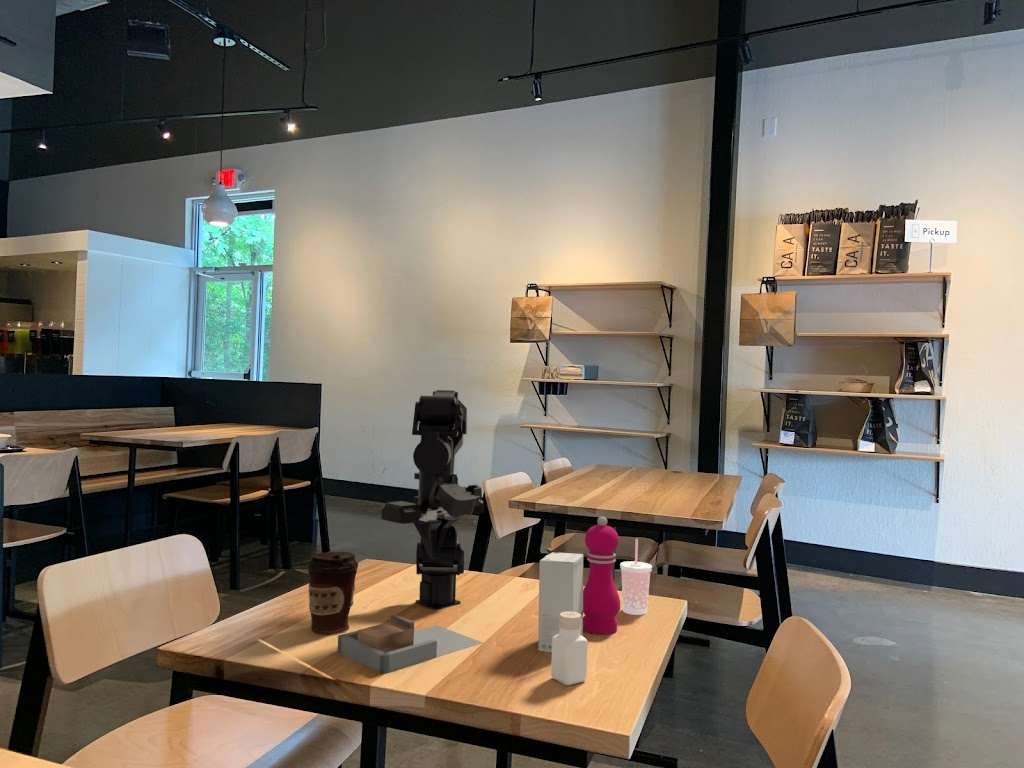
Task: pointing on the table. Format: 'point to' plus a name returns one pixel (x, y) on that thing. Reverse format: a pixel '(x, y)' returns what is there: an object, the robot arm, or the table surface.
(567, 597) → the skincare box
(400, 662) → the dock
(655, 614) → the table surface
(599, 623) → the pepper mill
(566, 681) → the salt shaker
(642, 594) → the beverage cup
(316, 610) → the coffee cup
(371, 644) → the block
